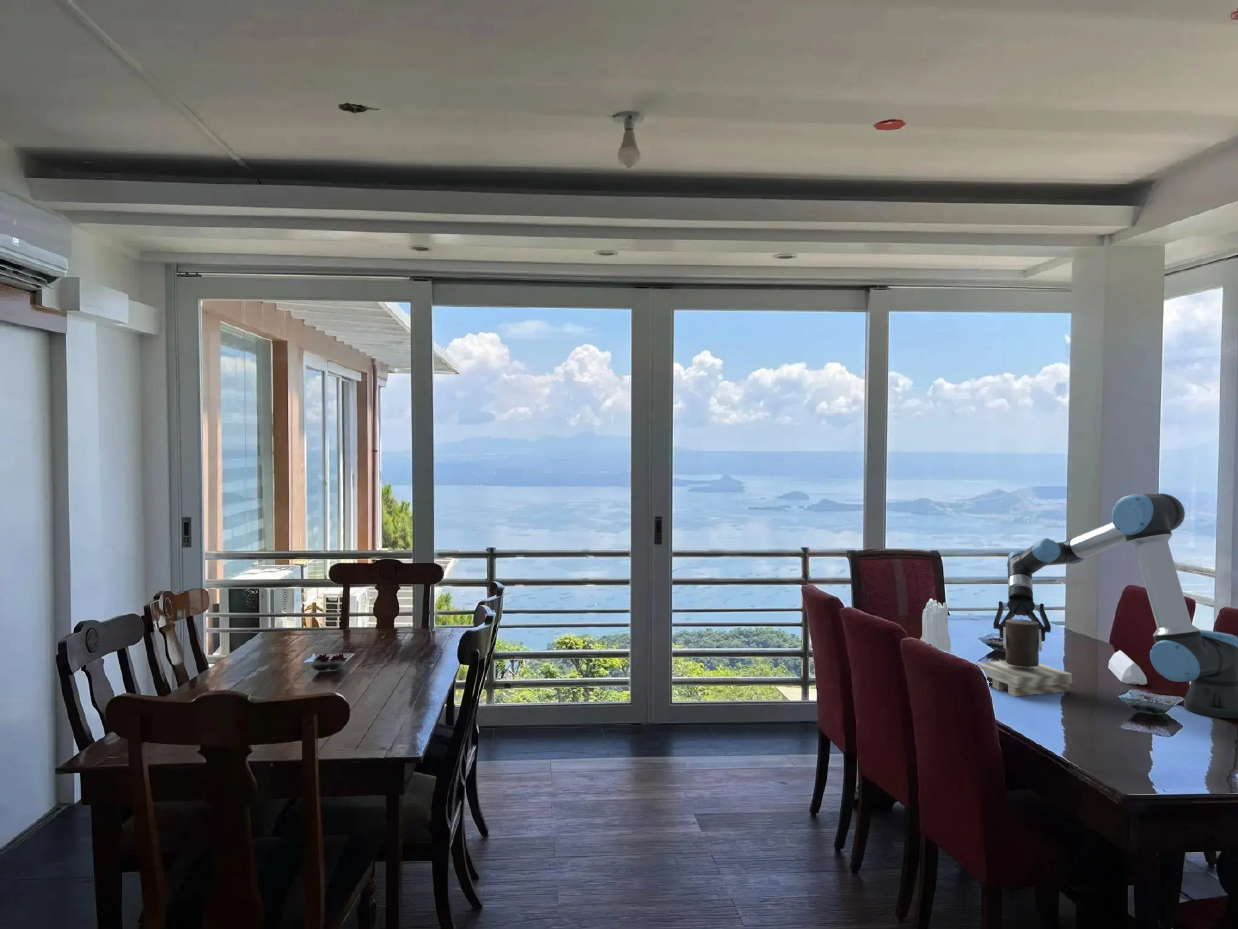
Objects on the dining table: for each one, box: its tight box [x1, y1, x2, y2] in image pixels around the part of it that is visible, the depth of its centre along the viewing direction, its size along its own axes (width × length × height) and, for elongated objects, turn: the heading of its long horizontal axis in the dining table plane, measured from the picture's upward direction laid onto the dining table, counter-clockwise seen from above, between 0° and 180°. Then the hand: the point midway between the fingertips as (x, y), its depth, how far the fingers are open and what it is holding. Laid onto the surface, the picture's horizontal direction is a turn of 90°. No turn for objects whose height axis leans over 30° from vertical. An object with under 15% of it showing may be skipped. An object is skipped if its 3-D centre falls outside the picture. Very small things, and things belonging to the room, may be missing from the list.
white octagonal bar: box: [1107, 649, 1148, 686], centre depth 281 cm, size 7×7×24 cm
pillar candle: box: [1005, 617, 1040, 667], centre depth 270 cm, size 10×10×15 cm
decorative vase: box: [919, 598, 952, 654], centre depth 291 cm, size 11×11×25 cm
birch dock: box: [975, 660, 1073, 697], centre depth 270 cm, size 20×20×6 cm
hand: (1022, 647), depth 267 cm, fingers closed on pillar candle, 10 cm apart
